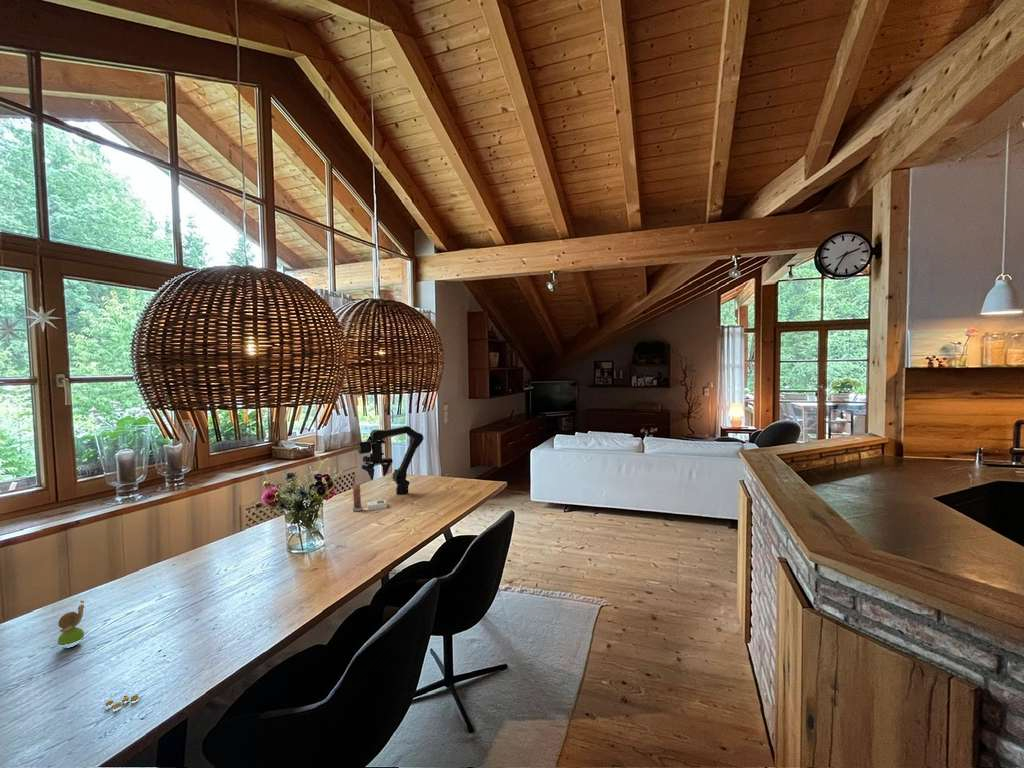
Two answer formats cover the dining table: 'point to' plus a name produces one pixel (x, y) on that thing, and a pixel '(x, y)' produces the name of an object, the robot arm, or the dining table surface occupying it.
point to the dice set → (123, 701)
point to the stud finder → (376, 505)
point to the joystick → (357, 498)
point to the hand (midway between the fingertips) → (378, 478)
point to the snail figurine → (71, 626)
